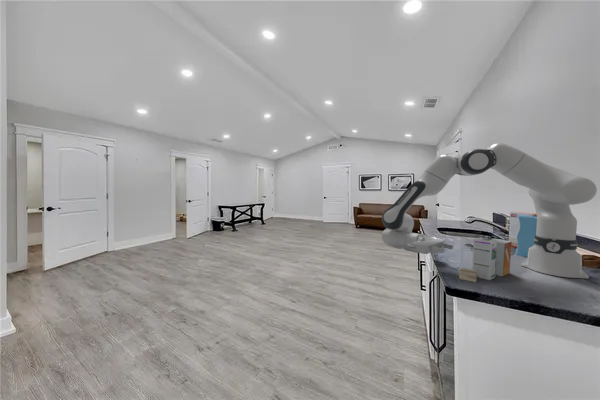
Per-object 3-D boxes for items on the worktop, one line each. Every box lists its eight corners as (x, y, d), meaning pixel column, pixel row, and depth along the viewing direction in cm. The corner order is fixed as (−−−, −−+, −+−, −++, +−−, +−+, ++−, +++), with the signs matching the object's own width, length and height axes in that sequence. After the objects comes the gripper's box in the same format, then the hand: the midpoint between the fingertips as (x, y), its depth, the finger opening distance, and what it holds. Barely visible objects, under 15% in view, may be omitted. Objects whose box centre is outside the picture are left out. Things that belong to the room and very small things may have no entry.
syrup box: (490, 280, 86) (492, 241, 85) (471, 275, 91) (473, 238, 90) (495, 277, 89) (497, 239, 88) (476, 272, 94) (479, 236, 93)
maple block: (461, 275, 91) (461, 267, 91) (477, 279, 88) (477, 271, 88) (459, 279, 88) (459, 271, 87) (475, 282, 84) (476, 274, 84)
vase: (516, 252, 128) (518, 215, 127) (536, 255, 122) (539, 217, 121) (515, 255, 122) (518, 216, 121) (537, 258, 117) (540, 218, 116)
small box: (502, 277, 90) (505, 243, 89) (482, 272, 95) (484, 240, 94) (510, 273, 94) (512, 241, 94) (490, 268, 100) (492, 238, 99)
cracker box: (540, 251, 130) (543, 214, 129) (529, 251, 130) (532, 213, 129) (517, 245, 144) (520, 211, 143) (507, 245, 144) (510, 211, 143)
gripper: (404, 238, 103) (439, 245, 92) (425, 233, 116) (457, 238, 105) (404, 253, 103) (438, 260, 92) (424, 246, 116) (456, 252, 105)
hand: (448, 249), depth 99 cm, fingers open, 8 cm apart
